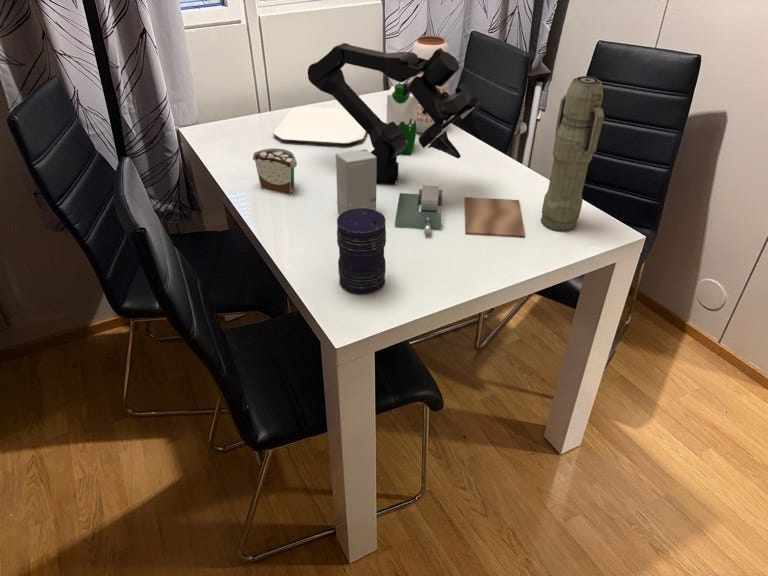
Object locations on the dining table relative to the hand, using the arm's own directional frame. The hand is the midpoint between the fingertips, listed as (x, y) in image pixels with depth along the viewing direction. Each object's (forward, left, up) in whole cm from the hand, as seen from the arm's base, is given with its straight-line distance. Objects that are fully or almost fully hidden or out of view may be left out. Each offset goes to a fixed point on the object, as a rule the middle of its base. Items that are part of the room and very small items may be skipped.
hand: (470, 148), depth 150 cm
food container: (-49, +2, -15) cm, 52 cm away
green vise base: (-12, -10, -15) cm, 21 cm away
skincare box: (-27, -10, -15) cm, 33 cm away
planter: (-12, +48, -15) cm, 52 cm away
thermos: (+23, -9, -15) cm, 29 cm away
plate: (-45, +45, -15) cm, 66 cm away
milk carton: (-19, +31, -15) cm, 40 cm away
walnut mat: (+7, -8, -15) cm, 18 cm away
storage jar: (-22, -39, -15) cm, 47 cm away
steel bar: (-9, -8, -15) cm, 19 cm away
